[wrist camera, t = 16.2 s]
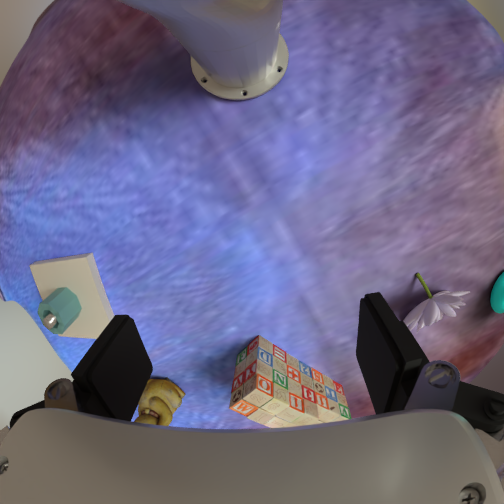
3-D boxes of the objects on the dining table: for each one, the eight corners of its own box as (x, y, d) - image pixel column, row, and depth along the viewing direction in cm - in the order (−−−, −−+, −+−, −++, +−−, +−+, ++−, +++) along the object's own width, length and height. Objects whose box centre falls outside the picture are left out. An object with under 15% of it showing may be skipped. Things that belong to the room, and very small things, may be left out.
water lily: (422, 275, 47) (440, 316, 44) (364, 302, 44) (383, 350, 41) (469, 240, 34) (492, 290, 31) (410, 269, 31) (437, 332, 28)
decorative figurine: (166, 404, 53) (148, 458, 39) (136, 383, 52) (111, 436, 38) (192, 388, 51) (175, 449, 37) (159, 365, 49) (134, 425, 35)
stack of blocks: (343, 384, 49) (355, 433, 37) (320, 400, 51) (328, 449, 39) (258, 333, 45) (255, 389, 33) (235, 355, 47) (227, 409, 35)
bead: (52, 288, 42) (33, 303, 36) (73, 286, 41) (54, 303, 36) (63, 316, 44) (47, 333, 38) (85, 316, 43) (68, 334, 38)
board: (35, 261, 42) (4, 282, 34) (92, 252, 41) (59, 277, 32) (63, 330, 48) (40, 357, 39) (121, 333, 47) (99, 366, 38)
